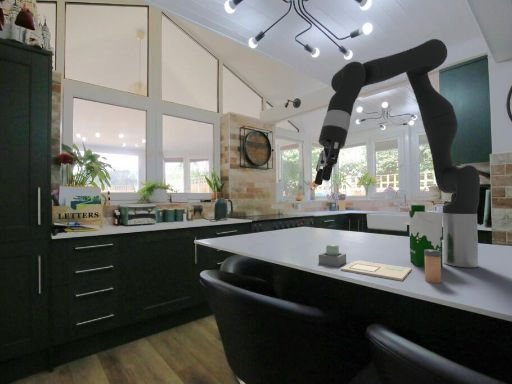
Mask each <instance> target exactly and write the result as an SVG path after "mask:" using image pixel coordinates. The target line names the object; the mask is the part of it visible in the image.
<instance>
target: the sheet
mask: <svg viewBox="0 0 512 384" xmlns="http://www.w3.org/2000/svg"><path fill="white" fill-rule="evenodd" d="M412 269H413V268H411V267H407V266H401V265H400V266H398V265H394V264H384V263H377V262H371V261H365V260H364V261H363V260H359V259H358V260H354V261H353V262H351V263H348V264H347V265H344V266H343V267H341V268H340V271H342V272H348V273H349V272H350V273H355V274H360V275H365V276H372V277H378V278H382V279H383V278H384V279H388V280H393V281H394V280H395V281H401V282H403V280H405V278H407V276H408V275H409V274H410V273H411V271H413V270H412ZM409 272H410V273H409ZM408 273H409V274H408Z"/></svg>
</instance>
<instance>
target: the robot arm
mask: <svg viewBox="0 0 512 384" xmlns="http://www.w3.org/2000/svg"><path fill="white" fill-rule="evenodd" d="M447 57H448V48H447V46H446V44H445V42H443V41H442V40H441V39H437V38H433V39H432V38H431V39H428V40H426V41H424V42H422V43H421V44H419V45H417V46H414V47H411V48H409V49H406V50H403V51H399V52H397V53H394V54H389V55H386V56H381V57H378V58H377V57H376V58H373V59H370V60H366V61H365V62H363V63H361V62H360V61H357V60H355V61H349V62H348V63H346V64H345V65H344V66H342V67H341V68H340V69H339V70H338V71H337V72H336V73H335V74H334V75H333V77H332V78H331V81H330V82H331V84H330V85H331V88H332V90H333V91H334V92H335V93H334V94H333V95H332V96H331V98H330V100H329V102H328V106H327V110H326V113H325V116H324V118H323V123H322V125H321V126H322V127H321V129H320V134H319V137H318V143H319V145H320V146H322V147H323V148H322V150H321V151H320V153H319V156H318V160H317V164H316V168H315V172H316V173H315V178H314V183H313V184H315V185H317V186H321V185H322V184H323V181H326V182H329V181H330V180H331V177H332V173H333V169H334V167H335V166H336V165H337V163H338V160H339V156H340V155H339V154H340V151H341V149H343V148H344V147H345V146H346V145H345V144H346V141H347V136H348V133H349V129H350V125H351V117H352V114H353V109H354V105H355V102H356V101H357V99H358V97H359V95H360V93H361V91H362V89H363V88H364V87H366V86H369V85H373V84H374V85H375V84H379V83H382V82H385V81H388V80H390V79H393V78H395V77H397V76H399V75H402V74H404V73H406V76H407V79H408V81H409V83H410V86H411V89H412V92H413V94H414V97H415V100H416V103H417V107H418V109H419V113H420V117H421V121H422V125H423V129H424V132H425V135H426V139H427V142H428V146H429V150H430V155H431V160H432V161H431V162H432V167H433V174H434V179H435V183H436V185H437V187H438V189H439V191H441V192H442V193H445V194H455V198H454V199H453V200H452V201H450V202H447V203H445V204H443V206H442V212H443V216H442V248H443V263H444V264H446V265H449V266H453V267H459V268H478V267H479V242H478V241H479V238H478V233H479V232H478V209H479V204H480V188H481V178H480V173H479V170H478V169H477V168H476V167H475V166H473V165H471V164H470V165H469V164H464V165H456V166H455V165H453V161H452V154H451V153H452V146H453V142H454V140H455V138H456V135H457V132H458V127H459V125H458V120H457V116H456V112H455V109H454V106H453V105H452V103H451V102H450V101H449V100H448V99H447V98H446V97H445V96H443V95H442V94H441V93H440V92H438V91H437V90H436V89H435V88H434V87H433V85H432V83H431V80H430V77H429V73H430V72H432V71H434V70H436V69H438V68H439V67H440V66H442V65H443V64H444V63H445V61H446V60H447ZM321 167H322V168H321Z"/></svg>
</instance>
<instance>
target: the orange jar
mask: <svg viewBox="0 0 512 384" xmlns="http://www.w3.org/2000/svg"><path fill="white" fill-rule="evenodd" d="M424 255H425V267H424V278H425V279H424V280H425V282H427V283H432V284H441V283H442V267H441V251H439V250H431V249H426V250H424Z"/></svg>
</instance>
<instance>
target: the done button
mask: <svg viewBox="0 0 512 384" xmlns="http://www.w3.org/2000/svg"><path fill="white" fill-rule="evenodd" d="M339 248H340V247H339V245H338V244H326V245H325V252H326V255H330V256H339V253H340V249H339Z"/></svg>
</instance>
